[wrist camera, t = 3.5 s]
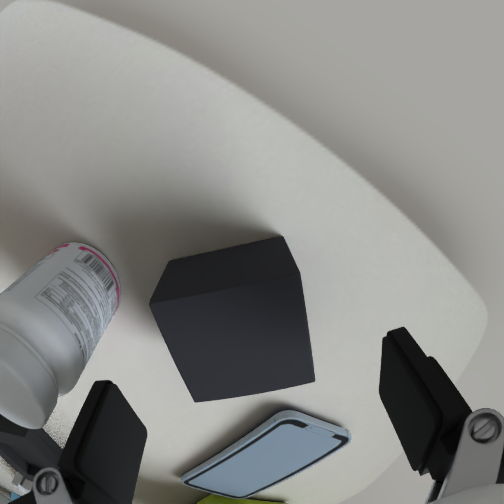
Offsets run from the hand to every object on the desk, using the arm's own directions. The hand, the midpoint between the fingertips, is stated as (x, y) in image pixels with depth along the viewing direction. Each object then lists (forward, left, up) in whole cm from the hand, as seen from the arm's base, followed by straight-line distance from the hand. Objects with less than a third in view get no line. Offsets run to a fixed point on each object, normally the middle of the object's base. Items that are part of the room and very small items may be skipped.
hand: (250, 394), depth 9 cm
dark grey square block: (0, 0, -6) cm, 6 cm away
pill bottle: (-9, +1, -6) cm, 11 cm away
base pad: (-23, -22, -6) cm, 33 cm away
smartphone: (+2, -16, -6) cm, 17 cm away
